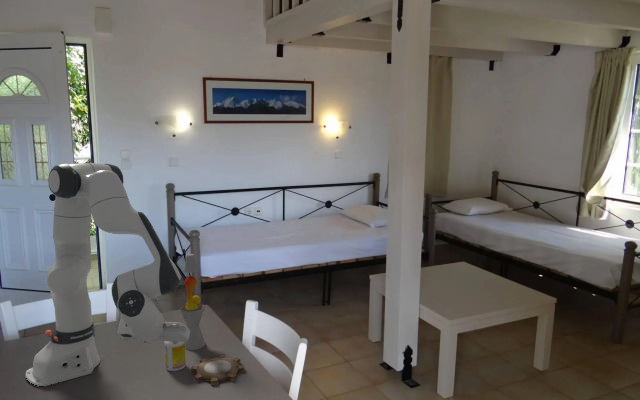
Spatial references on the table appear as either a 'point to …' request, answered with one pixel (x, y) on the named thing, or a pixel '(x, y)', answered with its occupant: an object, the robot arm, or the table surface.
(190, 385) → the table surface
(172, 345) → the supplement bottle
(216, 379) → the gear platform
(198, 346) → the lava lamp
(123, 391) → the table surface
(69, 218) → the robot arm
